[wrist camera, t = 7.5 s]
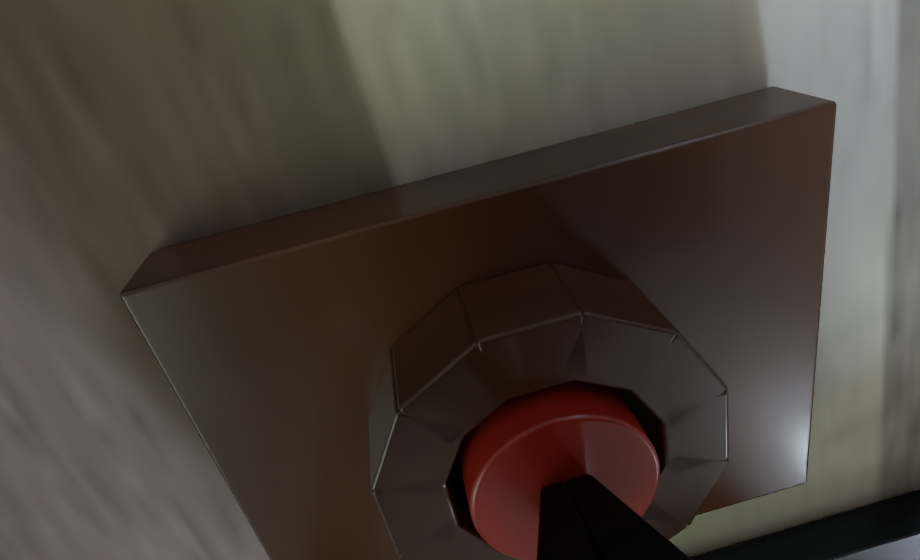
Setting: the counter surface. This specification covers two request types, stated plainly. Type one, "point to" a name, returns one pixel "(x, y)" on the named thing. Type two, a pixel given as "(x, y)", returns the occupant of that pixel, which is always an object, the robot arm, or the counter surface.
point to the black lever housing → (841, 536)
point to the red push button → (552, 459)
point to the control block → (509, 325)
